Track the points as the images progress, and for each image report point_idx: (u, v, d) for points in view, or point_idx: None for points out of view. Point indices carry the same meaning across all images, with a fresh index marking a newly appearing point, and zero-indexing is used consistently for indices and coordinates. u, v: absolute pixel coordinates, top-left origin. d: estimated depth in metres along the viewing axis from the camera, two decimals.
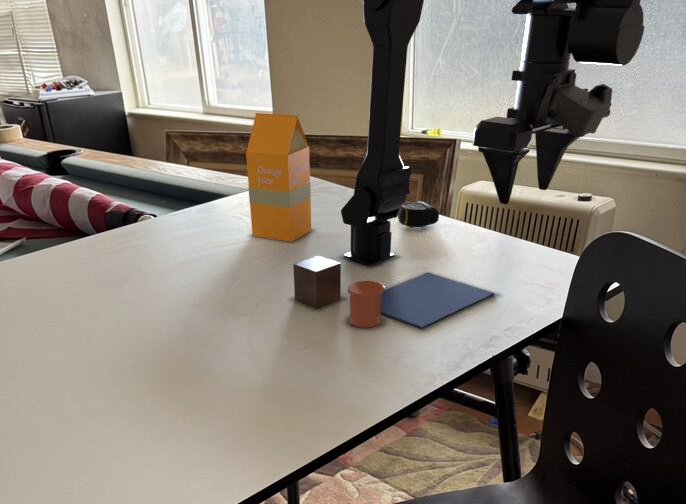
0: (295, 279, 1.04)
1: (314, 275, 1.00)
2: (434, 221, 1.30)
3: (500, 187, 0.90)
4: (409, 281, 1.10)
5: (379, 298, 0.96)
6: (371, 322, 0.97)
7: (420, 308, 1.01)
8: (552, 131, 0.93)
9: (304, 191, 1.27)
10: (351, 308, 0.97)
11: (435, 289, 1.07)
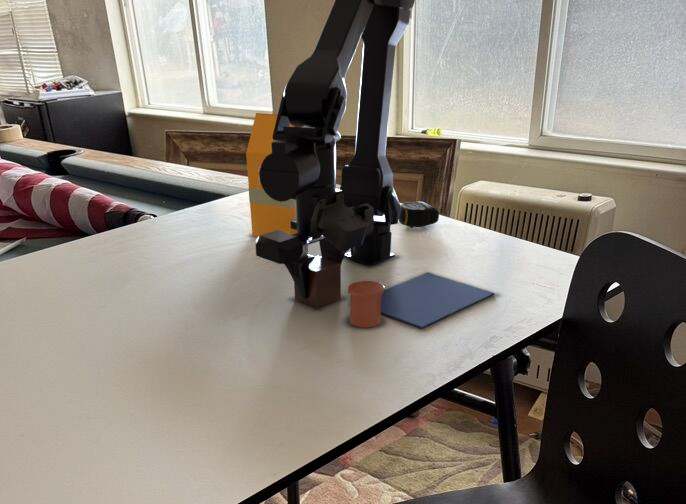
0: None
1: (314, 275, 1.00)
2: (434, 221, 1.30)
3: (298, 284, 1.02)
4: (409, 281, 1.10)
5: (379, 298, 0.96)
6: (371, 322, 0.97)
7: (420, 308, 1.01)
8: None
9: None
10: (351, 308, 0.97)
11: (435, 289, 1.07)
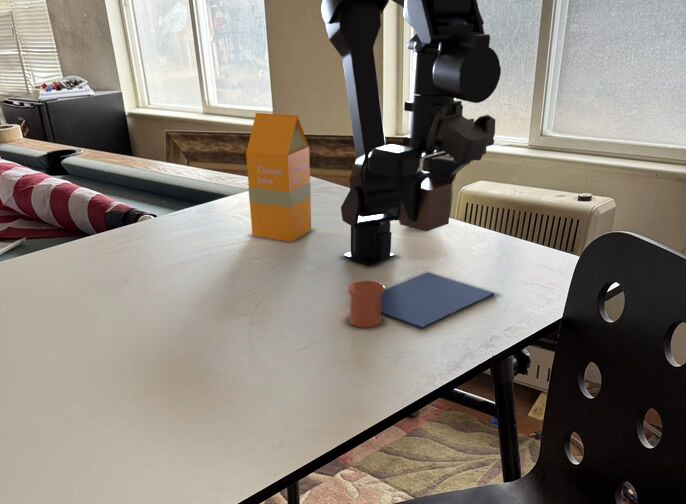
0: None
1: (426, 195, 0.96)
2: None
3: (407, 206, 0.98)
4: (409, 281, 1.10)
5: (379, 298, 0.96)
6: (371, 322, 0.97)
7: (420, 308, 1.01)
8: (441, 158, 0.98)
9: (304, 191, 1.27)
10: (351, 308, 0.97)
11: (435, 289, 1.07)
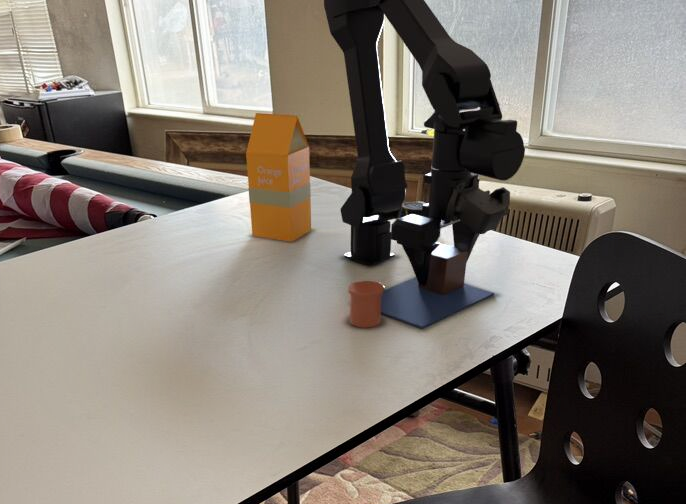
0: None
1: (444, 263, 1.02)
2: None
3: (418, 272, 1.03)
4: (409, 281, 1.10)
5: (379, 298, 0.96)
6: (371, 322, 0.97)
7: (420, 308, 1.01)
8: None
9: (304, 191, 1.27)
10: (351, 308, 0.97)
11: None
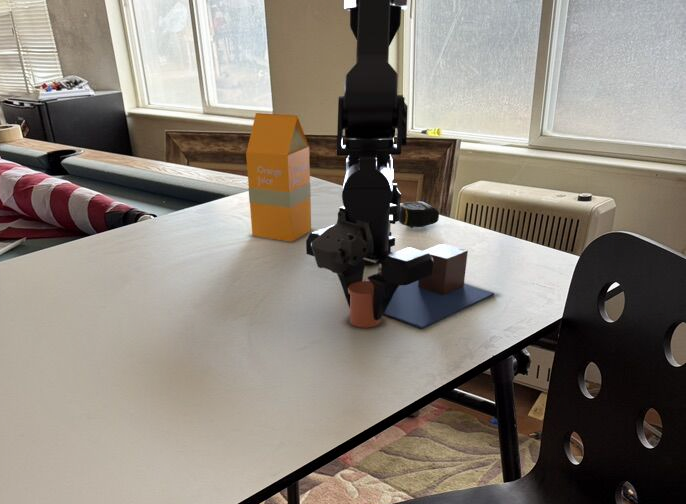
0: None
1: (444, 263, 1.02)
2: (434, 221, 1.30)
3: None
4: None
5: None
6: (371, 322, 0.97)
7: (420, 308, 1.01)
8: None
9: (304, 191, 1.27)
10: (351, 308, 0.97)
11: None
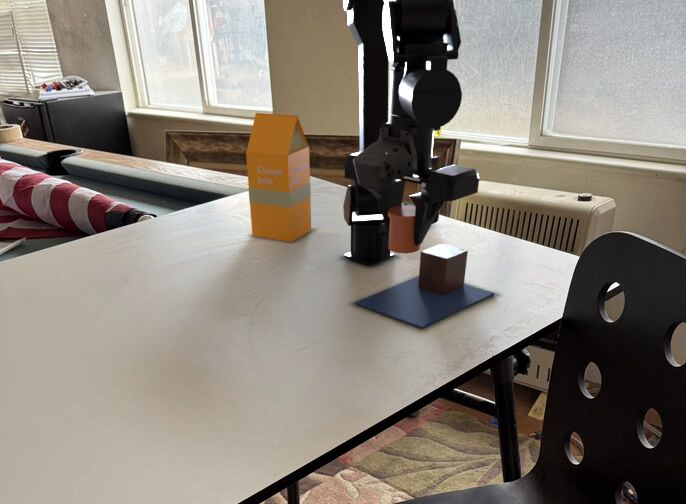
0: (421, 267, 1.05)
1: (444, 263, 1.02)
2: (434, 221, 1.30)
3: None
4: (409, 281, 1.10)
5: None
6: (411, 248, 0.94)
7: (420, 308, 1.01)
8: None
9: (304, 191, 1.27)
10: (390, 233, 0.94)
11: None
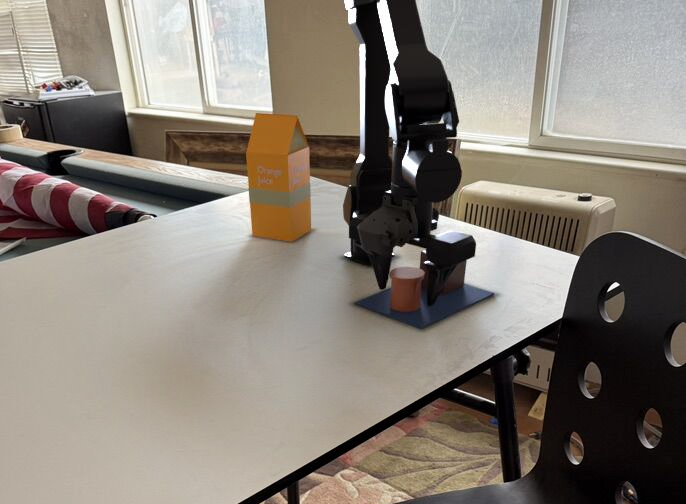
0: (421, 267, 1.05)
1: None
2: None
3: None
4: None
5: (420, 283, 0.99)
6: (412, 307, 1.00)
7: (420, 308, 1.01)
8: None
9: (304, 191, 1.27)
10: (392, 293, 1.00)
11: None
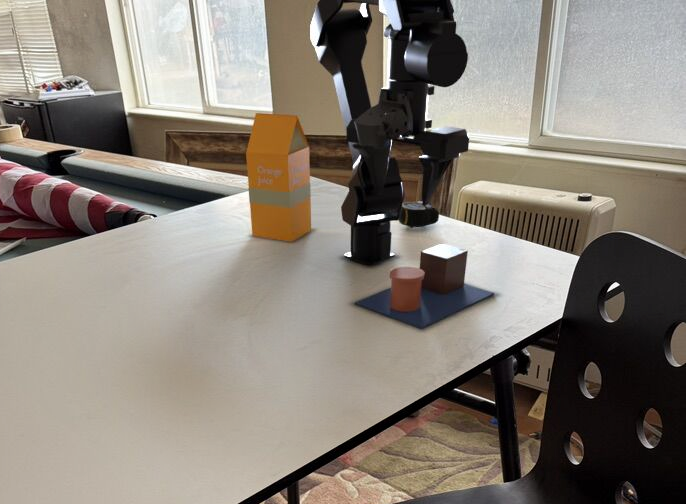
0: (421, 267, 1.05)
1: (444, 263, 1.02)
2: (434, 221, 1.30)
3: None
4: None
5: (420, 283, 0.99)
6: (412, 307, 1.00)
7: (420, 308, 1.01)
8: None
9: (304, 191, 1.27)
10: (392, 293, 1.00)
11: None
